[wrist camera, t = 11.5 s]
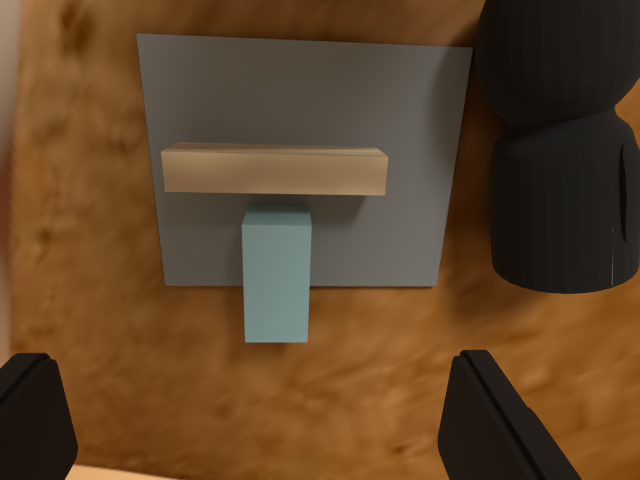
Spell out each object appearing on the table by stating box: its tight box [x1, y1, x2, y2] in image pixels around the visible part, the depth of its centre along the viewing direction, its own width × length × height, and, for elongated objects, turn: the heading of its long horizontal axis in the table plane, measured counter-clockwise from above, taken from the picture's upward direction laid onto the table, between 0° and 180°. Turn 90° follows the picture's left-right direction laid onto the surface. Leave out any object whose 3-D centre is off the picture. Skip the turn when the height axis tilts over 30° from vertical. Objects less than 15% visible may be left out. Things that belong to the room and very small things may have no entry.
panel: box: [136, 33, 473, 286], centre depth 30 cm, size 18×22×1 cm
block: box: [242, 205, 312, 342], centre depth 30 cm, size 4×4×9 cm
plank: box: [161, 142, 388, 195], centre depth 28 cm, size 2×14×4 cm, turn 88°
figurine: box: [476, 0, 640, 294], centre depth 26 cm, size 9×9×20 cm
